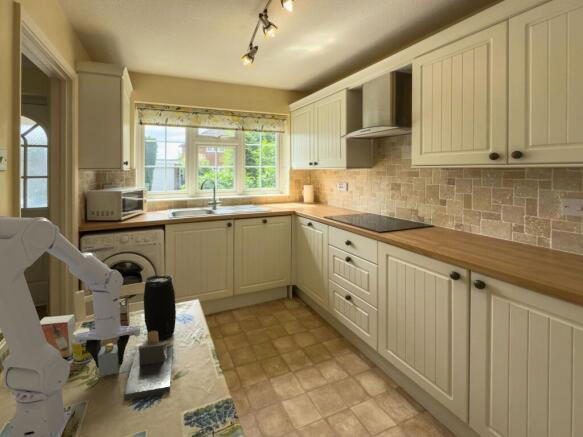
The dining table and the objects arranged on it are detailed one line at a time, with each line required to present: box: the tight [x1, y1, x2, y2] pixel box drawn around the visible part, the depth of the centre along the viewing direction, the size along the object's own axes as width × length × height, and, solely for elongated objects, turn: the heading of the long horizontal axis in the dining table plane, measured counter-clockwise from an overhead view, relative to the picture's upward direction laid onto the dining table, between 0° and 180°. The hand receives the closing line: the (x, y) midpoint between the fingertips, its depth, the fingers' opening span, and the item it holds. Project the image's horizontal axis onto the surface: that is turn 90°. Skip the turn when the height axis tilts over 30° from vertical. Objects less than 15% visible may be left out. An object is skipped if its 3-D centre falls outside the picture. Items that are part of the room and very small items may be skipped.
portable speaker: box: [143, 274, 177, 342], centre depth 103 cm, size 9×9×20 cm
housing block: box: [98, 342, 122, 377], centre depth 84 cm, size 4×4×7 cm
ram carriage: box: [138, 331, 165, 365], centre depth 89 cm, size 7×6×6 cm
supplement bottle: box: [72, 328, 93, 365], centre depth 90 cm, size 5×5×8 cm
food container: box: [119, 294, 131, 326], centre depth 108 cm, size 12×6×10 cm, turn 25°
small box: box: [40, 314, 77, 358], centre depth 94 cm, size 8×6×10 cm
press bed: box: [123, 343, 174, 401], centre depth 85 cm, size 20×10×3 cm, turn 18°
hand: (110, 364), depth 84 cm, fingers closed on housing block, 4 cm apart
